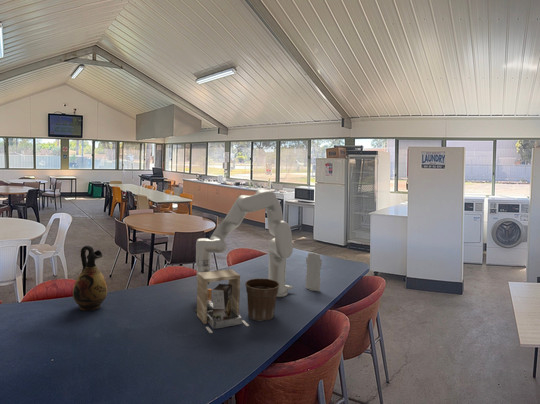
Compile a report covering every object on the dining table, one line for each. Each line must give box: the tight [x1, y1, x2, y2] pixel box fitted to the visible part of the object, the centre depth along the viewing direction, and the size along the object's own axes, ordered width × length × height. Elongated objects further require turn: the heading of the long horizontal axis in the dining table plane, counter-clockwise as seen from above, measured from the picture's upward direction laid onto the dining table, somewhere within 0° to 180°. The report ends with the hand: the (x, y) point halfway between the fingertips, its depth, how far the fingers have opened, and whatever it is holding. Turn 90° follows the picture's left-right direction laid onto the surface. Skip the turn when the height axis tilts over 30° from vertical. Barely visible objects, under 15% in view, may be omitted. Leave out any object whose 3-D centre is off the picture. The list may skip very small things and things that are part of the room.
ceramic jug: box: [72, 244, 108, 312], centre depth 184 cm, size 17×15×30 cm
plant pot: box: [244, 277, 280, 322], centre depth 179 cm, size 16×16×16 cm
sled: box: [207, 288, 243, 330], centre depth 181 cm, size 13×33×6 cm, turn 28°
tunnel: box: [196, 268, 241, 325], centre depth 177 cm, size 17×11×20 cm, turn 118°
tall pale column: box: [305, 252, 323, 292], centre depth 221 cm, size 11×4×22 cm, turn 51°
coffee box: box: [212, 283, 232, 321], centre depth 173 cm, size 9×6×16 cm
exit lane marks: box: [205, 319, 250, 334], centre depth 167 cm, size 18×6×1 cm, turn 118°
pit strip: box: [193, 306, 211, 313], centre depth 188 cm, size 16×3×1 cm, turn 118°
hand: (202, 296), depth 199 cm, fingers closed
